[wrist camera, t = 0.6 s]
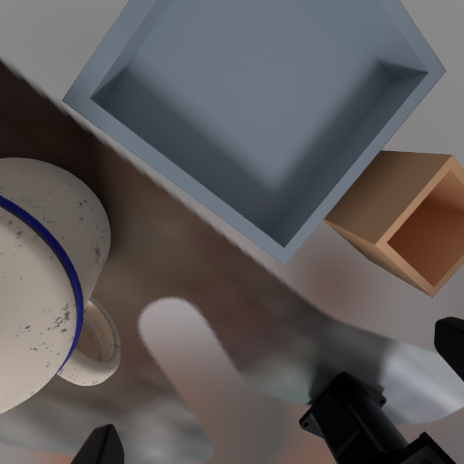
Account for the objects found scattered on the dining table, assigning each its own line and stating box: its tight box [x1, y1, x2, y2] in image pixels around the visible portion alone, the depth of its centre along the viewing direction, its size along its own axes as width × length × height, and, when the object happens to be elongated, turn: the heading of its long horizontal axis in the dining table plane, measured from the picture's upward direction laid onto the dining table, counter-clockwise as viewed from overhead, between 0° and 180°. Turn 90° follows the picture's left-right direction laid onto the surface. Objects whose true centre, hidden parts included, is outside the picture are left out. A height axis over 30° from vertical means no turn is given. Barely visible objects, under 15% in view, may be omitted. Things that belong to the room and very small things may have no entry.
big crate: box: [62, 0, 446, 265], centre depth 16 cm, size 14×14×4 cm
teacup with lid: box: [0, 158, 121, 414], centre depth 13 cm, size 12×9×12 cm
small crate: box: [323, 150, 464, 298], centre depth 19 cm, size 6×6×6 cm
